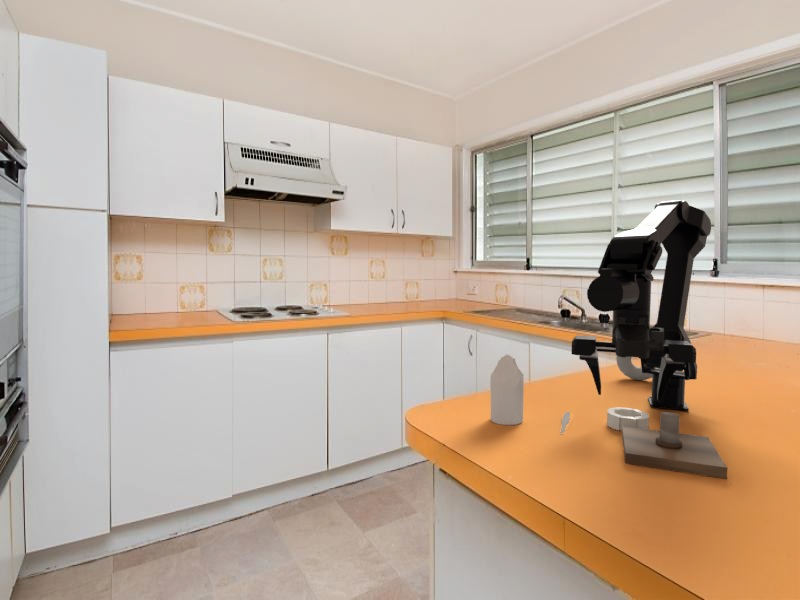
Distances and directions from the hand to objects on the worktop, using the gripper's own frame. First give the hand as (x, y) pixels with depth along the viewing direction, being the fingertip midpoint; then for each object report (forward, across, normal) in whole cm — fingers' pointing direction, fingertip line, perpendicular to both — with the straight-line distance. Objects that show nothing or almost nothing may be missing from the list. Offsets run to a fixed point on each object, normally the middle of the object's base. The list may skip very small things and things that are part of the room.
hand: (628, 397), depth 80 cm
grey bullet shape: (+5, -20, -5) cm, 21 cm away
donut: (+6, +4, +38) cm, 38 cm away
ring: (+5, 0, 0) cm, 5 cm away
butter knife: (+6, -10, -9) cm, 15 cm away
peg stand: (+5, +5, -11) cm, 13 cm away
